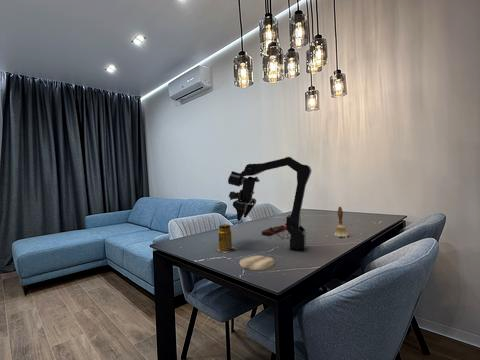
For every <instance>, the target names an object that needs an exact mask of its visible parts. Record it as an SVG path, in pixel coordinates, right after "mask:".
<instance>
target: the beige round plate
mask: <svg viewBox="0 0 480 360" xmlns="http://www.w3.org/2000/svg"><path fill="white" fill-rule="evenodd" d="M238 263H239V266H240V267H241V268H242V269H244V270H249V271H265V270H269V269H271V268H273V267H274V266H275V260H274V258H272V257H269V256H268V255H267V256H266V255H250V256H246V257H243V258H241V259H240V260H239V262H238Z"/></svg>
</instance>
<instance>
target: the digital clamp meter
mask: <svg viewBox="0 0 480 360" xmlns="http://www.w3.org/2000/svg"><path fill="white" fill-rule="evenodd" d="M285 231H287V229H286V226H285V225H282V224H281V225H278V226H274V227H268V228H267V229H264V230H262V231H261V236H265V237H271V236H274V235H277V236H278V238H281V239H284V238H285V234H284V232H285ZM279 233H282V235H283V237H282V236H281V235H280V234H279ZM288 235H290V233H289V232H287V234H286V236H287V237H286V238H285V239H284V240H288V239H290V238H291V235H290V236H288Z"/></svg>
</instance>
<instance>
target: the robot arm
mask: <svg viewBox="0 0 480 360" xmlns="http://www.w3.org/2000/svg"><path fill="white" fill-rule="evenodd" d="M286 166H287V167H289V168H291V169H292V170H293V171H295V172H296V182H297V183H296V188H295V194H294V200H293V205H292V208H291V209H292V210H291V213H290V214H288V215H287V216H286V220H285V221H286V222H285V225H284V226H286V229H287V230H286V231H287V233H289V235H290V236H291V237H290V238H289V250H290V251H298V252H305V251H306V249H307V248H308V246H307V245H306V244H307V243H306V242H307V241H306V238H307V237H306V235H305V234H306V228H305V227H303V226H302V225H301V223H302V222H301V221H302V220H301V217H302V216H301V212H302V207H303V201H304V197H305V190H306V186H307V183H308V181H309V178H310V177H311V174H312V168H311V167H310V165H308V164H303V163H301V162H299V161H297V160H295V159H294V158H293V157H292V156H286V157H283V158H280V159H275V160H272V161H271V160H270V161H267V162H263V163H248V164H246V165H245V167H244V169H243V170H242V171H241V172H237V171H234V170H233V171H231V172H230V175H229V177H228V180H227V183H228V185H231V186H235V187H238V188H239V187H240V188H241V186H242V188H241V189H240V190H239V192H238V191H237V192H235V191H234V190H233V191H230V192H229V193H228V194H229V195H228V198H229V200H230V201H232V200H234V201H233V202H232V207H233V208H234V209H235V210H236V220H237V222H240V221H241V220H242V218H247V217H248V215H249V214H250V212H251V211H252V210H253V208H254V207H255V205H256V204H257V199H256V198H254V197H253V195H254V194H255V191H254V190H255V184H256V183H260V179H259V177H258V176H257V175H259V174H261V173H264V172H265V171H269V170H270V171H271V170H274V169H279V168H282V167H283V168H284V167H286ZM253 176H254V177H253Z"/></svg>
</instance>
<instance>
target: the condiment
mask: <svg viewBox="0 0 480 360" xmlns="http://www.w3.org/2000/svg"><path fill="white" fill-rule="evenodd" d="M232 239H233V238H232V230H231V225H230V224H228V223H227V224H220V225H219V226H218V249H216V251H217V252H220V253H222V254H226V253H230V252H234V251H237V250H238V248H237V247H233V243H232V241H233V240H232Z"/></svg>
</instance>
